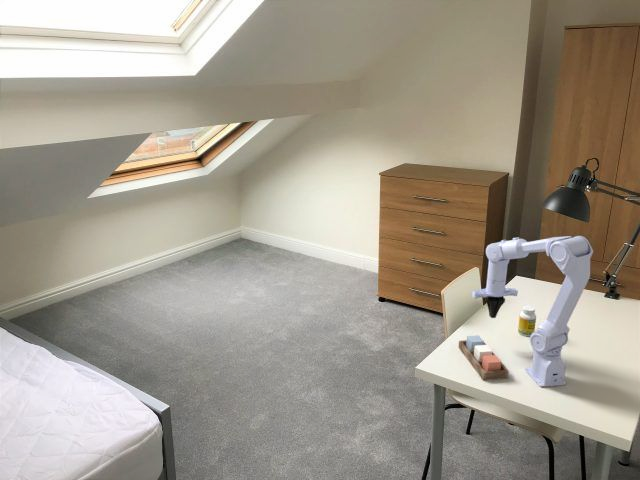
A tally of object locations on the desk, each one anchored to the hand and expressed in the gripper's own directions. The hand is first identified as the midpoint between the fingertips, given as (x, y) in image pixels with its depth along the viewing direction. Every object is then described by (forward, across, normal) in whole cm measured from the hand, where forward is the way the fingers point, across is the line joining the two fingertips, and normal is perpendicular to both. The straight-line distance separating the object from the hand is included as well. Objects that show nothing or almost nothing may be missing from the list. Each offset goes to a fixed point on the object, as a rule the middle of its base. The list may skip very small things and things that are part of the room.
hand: (492, 316), depth 174 cm
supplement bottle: (+11, -16, -6) cm, 20 cm away
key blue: (+9, +7, +4) cm, 12 cm away
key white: (+9, +7, +10) cm, 15 cm away
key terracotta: (+9, +7, +16) cm, 20 cm away
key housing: (+10, +7, +10) cm, 16 cm away
